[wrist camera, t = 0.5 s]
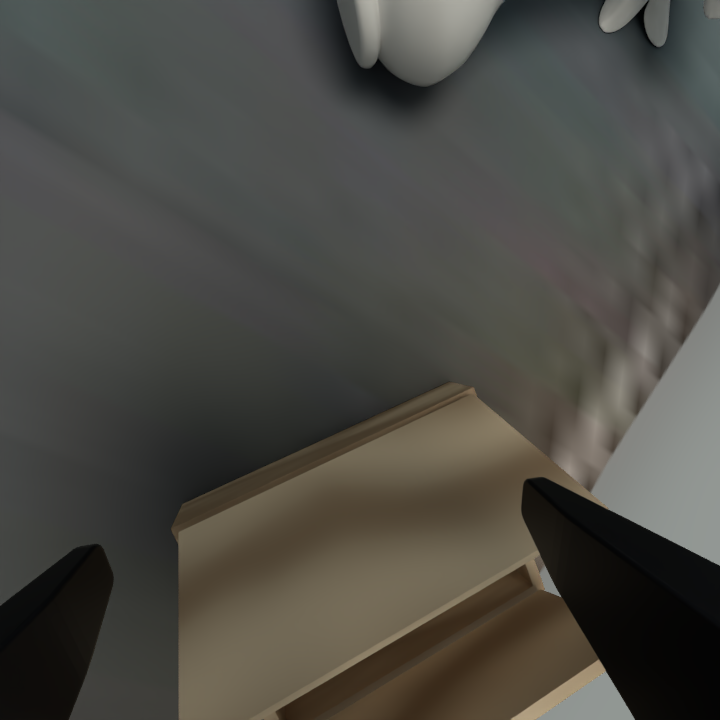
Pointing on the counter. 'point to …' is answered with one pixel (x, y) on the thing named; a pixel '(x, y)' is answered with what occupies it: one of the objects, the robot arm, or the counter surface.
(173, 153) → the counter surface
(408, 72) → the flower vase
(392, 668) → the carton
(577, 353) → the counter surface
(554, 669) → the flap far
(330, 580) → the flap near
